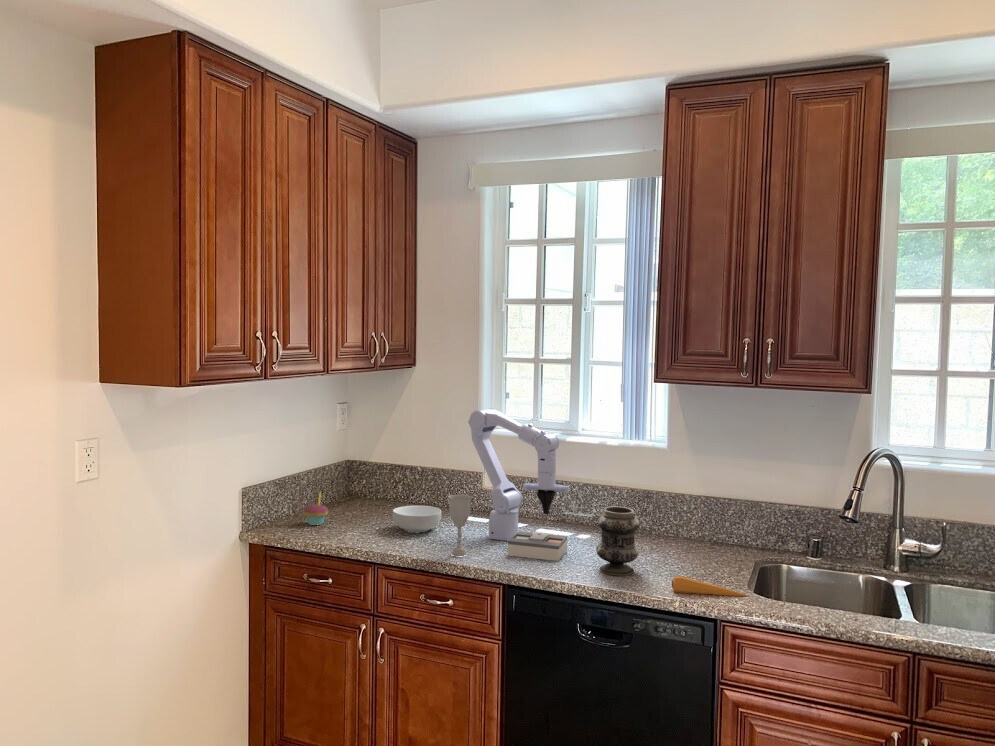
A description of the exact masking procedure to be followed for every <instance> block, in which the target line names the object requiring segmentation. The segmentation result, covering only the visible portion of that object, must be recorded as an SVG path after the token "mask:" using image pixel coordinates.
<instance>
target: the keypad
mask: <svg viewBox="0 0 995 746" xmlns="http://www.w3.org/2000/svg"><path fill="white" fill-rule="evenodd" d="M532 535H542V536H546V539H545V540H544V541H536V540H530V537H531V536H532ZM517 536H521V537H529V538H528V539H517V538H516V537H517ZM549 539H550V540H560V541H561V543H556V542H547V541H548V540H549ZM567 551H568V536H567V535H562V534H561V535H559V534H548V533H540V532H528V531H520V530H518V532H517V533H516V534H515V535H514V536H513V537H512V538H511V539H509V540H508V541H507V556H509V555H510V557H521V558H529V559H538V560H539V559H540V560H546V561H555V562H559V561H560V560H561V558H562V557H563V556H564V555H565V553H566V552H567Z"/></svg>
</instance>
